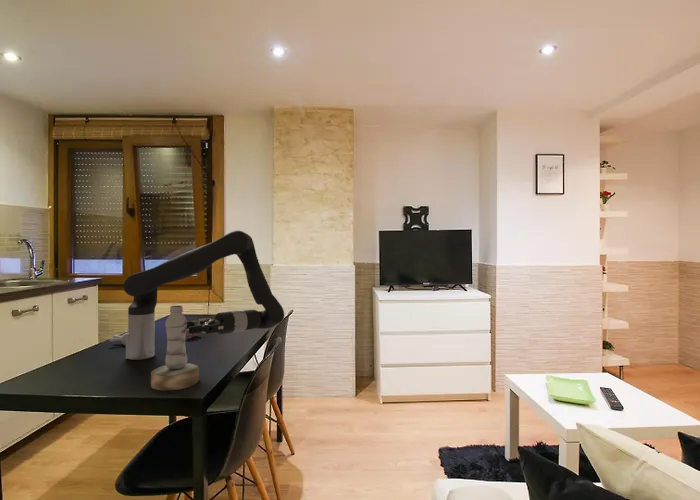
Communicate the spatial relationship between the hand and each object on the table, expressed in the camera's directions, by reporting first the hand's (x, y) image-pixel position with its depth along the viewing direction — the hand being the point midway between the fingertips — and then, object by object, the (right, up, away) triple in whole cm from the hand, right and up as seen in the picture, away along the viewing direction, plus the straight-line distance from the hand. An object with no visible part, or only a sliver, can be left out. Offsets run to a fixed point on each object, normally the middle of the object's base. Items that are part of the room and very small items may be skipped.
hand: (184, 328), depth 127 cm
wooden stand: (-2, -17, -2) cm, 17 cm away
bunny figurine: (-44, -17, +47) cm, 67 cm away
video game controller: (-23, -17, +60) cm, 66 cm away
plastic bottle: (-2, -13, -2) cm, 13 cm away
